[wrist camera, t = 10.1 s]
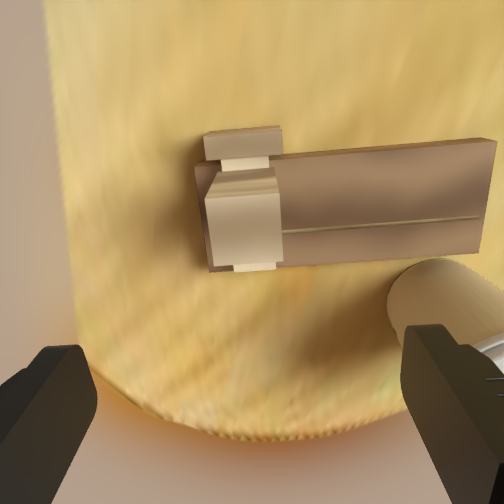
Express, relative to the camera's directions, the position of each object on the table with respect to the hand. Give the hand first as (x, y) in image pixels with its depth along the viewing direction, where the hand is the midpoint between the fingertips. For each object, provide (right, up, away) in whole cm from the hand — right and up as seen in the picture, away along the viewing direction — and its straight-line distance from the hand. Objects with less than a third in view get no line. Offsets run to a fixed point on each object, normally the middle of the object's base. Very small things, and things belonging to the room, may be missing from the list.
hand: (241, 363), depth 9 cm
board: (+7, +6, +19) cm, 21 cm away
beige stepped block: (0, +7, +18) cm, 20 cm away
